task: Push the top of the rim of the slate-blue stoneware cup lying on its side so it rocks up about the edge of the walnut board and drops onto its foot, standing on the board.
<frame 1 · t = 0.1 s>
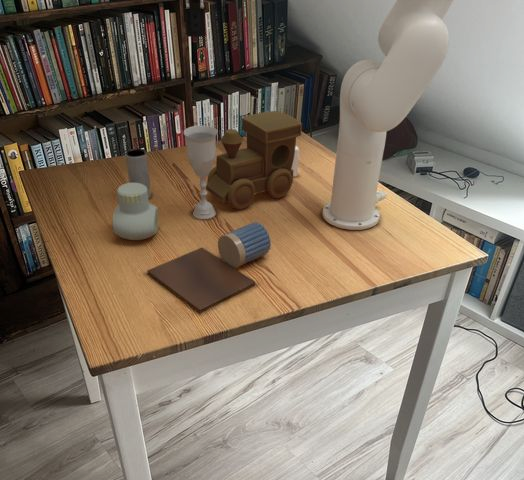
hand: (194, 29, 97), 37 cm above the table, tool pointing down, fingers open, 9 cm apart
walnut board: (201, 279, 105), on the table
chalice: (204, 214, 125), on the table
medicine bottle: (279, 173, 142), on the table
grey pipe: (141, 196, 130), on the table
tea cup: (228, 252, 107), point 3 cm above the table
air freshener: (138, 234, 118), on the table
wooden toy train: (251, 196, 132), on the table
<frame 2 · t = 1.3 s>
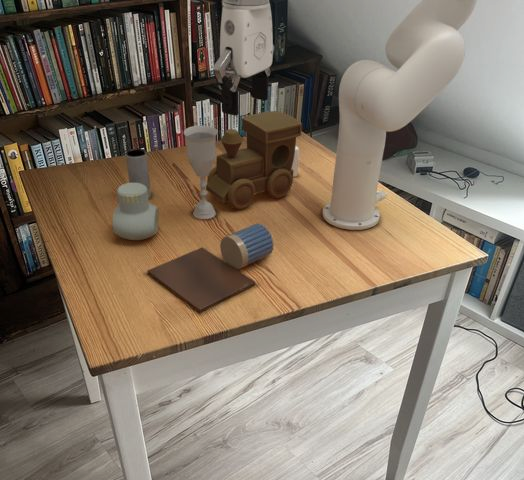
hand: (245, 106, 101), 26 cm above the table, tool pointing down, fingers open, 9 cm apart
tea cup: (231, 253, 106), point 3 cm above the table, tilted 12°
everything else where it was.
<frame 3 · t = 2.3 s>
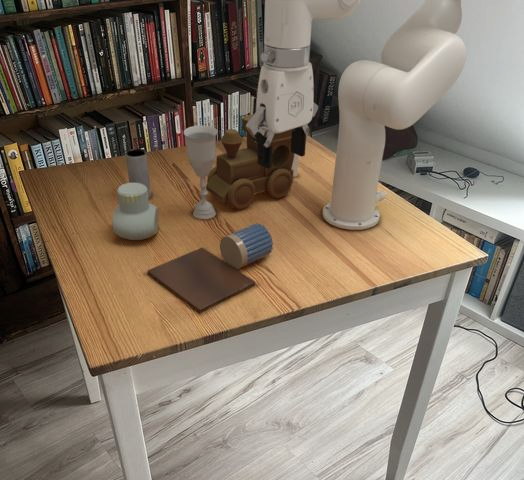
hand: (281, 159, 104), 18 cm above the table, tool pointing down, fingers open, 7 cm apart
nothing on the table moved.
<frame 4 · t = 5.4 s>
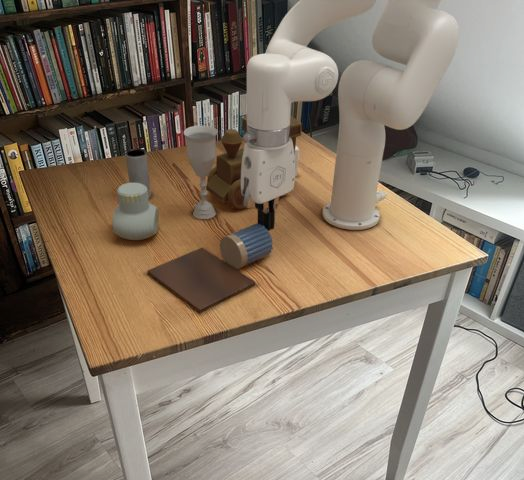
hand: (265, 227, 111), 5 cm above the table, tool pointing down, fingers closed
tea cup: (230, 253, 106), point 3 cm above the table, tilted 9°, touching gripper
everything else where it was.
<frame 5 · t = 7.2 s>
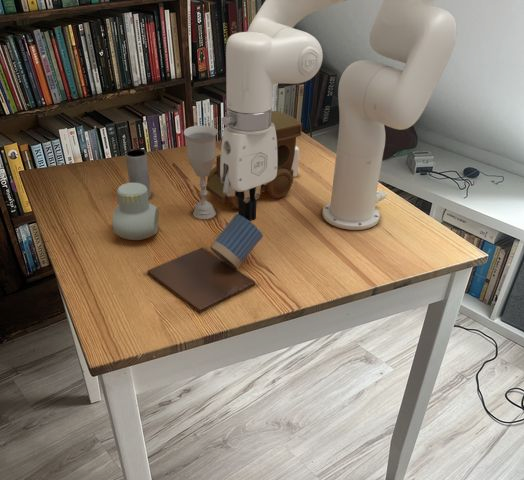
hand: (247, 217, 106), 9 cm above the table, tool pointing down, fingers closed
tea cup: (223, 258, 106), point 3 cm above the table, tilted 37°, touching gripper, walnut board
everything else where it was.
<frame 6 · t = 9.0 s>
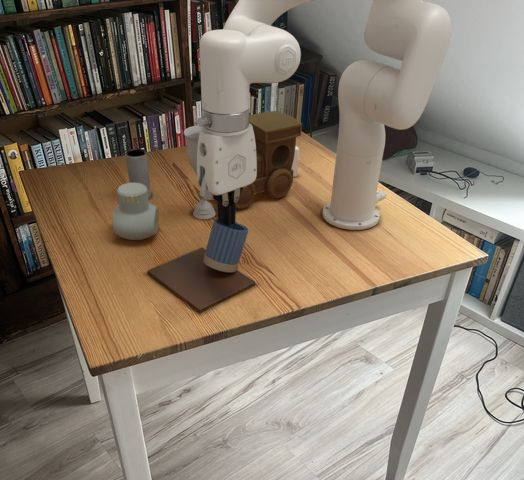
hand: (226, 221, 102), 10 cm above the table, tool pointing down, fingers closed
tea cup: (219, 265, 106), point 2 cm above the table, tilted 68°, touching gripper, walnut board
everything else where it was.
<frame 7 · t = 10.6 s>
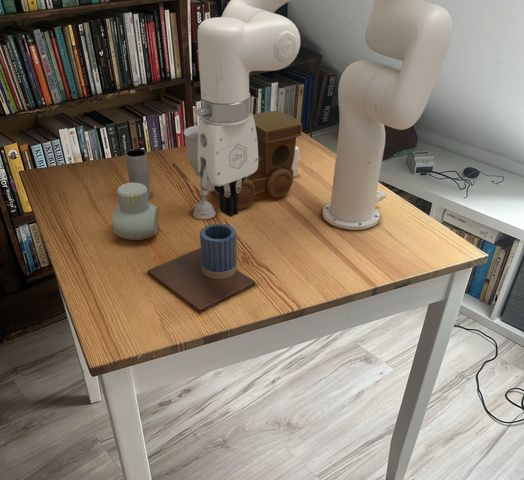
hand: (229, 212, 101), 11 cm above the table, tool pointing down, fingers closed
tea cup: (219, 269, 107), point 1 cm above the table, tilted 90°, touching walnut board
everything else where it was.
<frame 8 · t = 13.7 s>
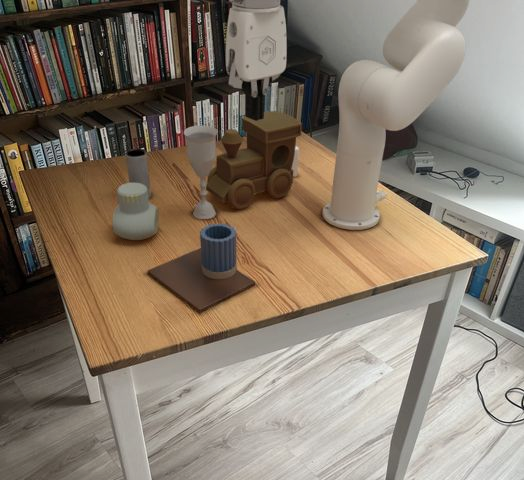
hand: (254, 117, 100), 25 cm above the table, tool pointing down, fingers closed
nothing on the table moved.
at the end: tea cup tilted 90°; tea cup 0.8 cm from the target spot, point 0.8 cm above the table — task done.
